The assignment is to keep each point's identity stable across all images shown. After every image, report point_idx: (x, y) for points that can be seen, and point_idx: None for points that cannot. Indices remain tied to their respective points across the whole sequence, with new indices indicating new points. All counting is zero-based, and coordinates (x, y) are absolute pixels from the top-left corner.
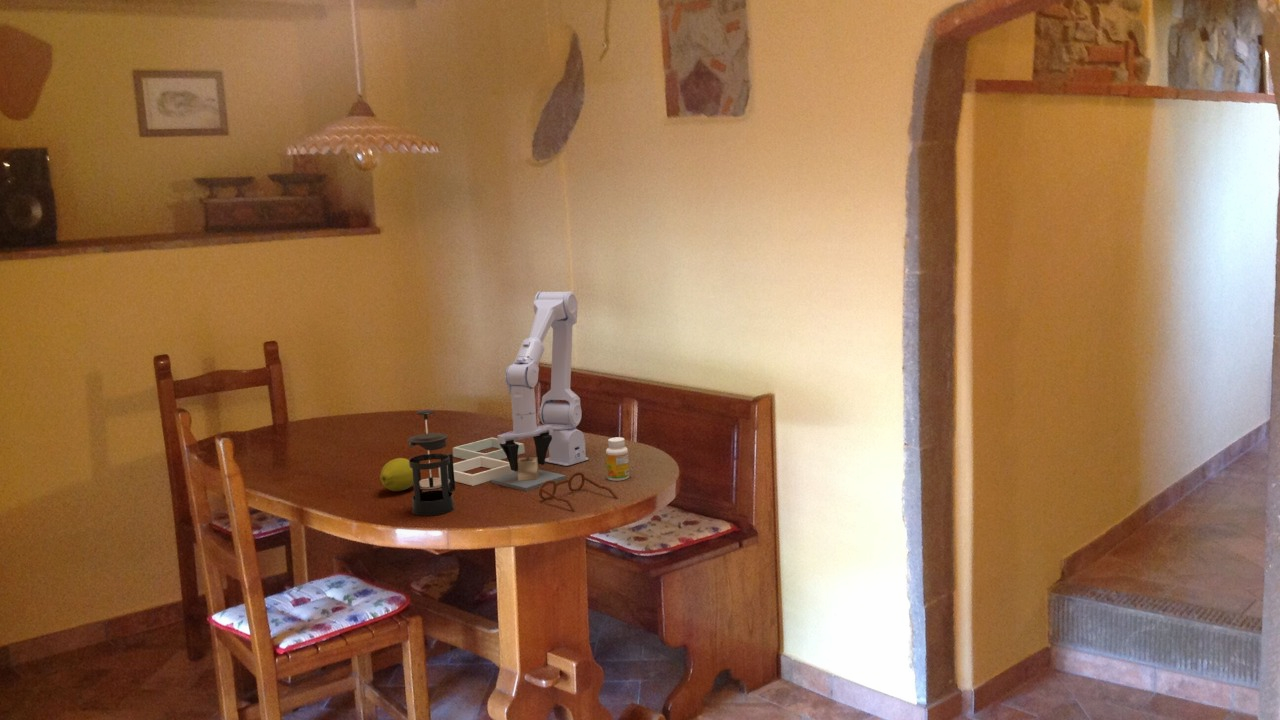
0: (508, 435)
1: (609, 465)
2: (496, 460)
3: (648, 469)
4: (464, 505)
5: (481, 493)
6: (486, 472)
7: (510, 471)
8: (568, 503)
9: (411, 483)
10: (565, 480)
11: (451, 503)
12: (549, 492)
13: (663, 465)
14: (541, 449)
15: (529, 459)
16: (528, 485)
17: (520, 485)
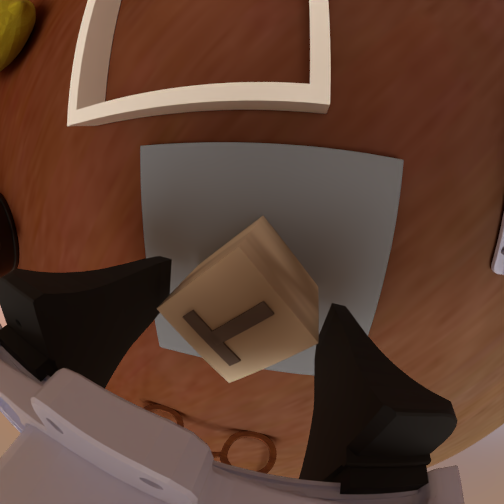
0: (3, 413)
1: None
2: None
3: (463, 436)
4: (31, 267)
5: (73, 228)
6: (127, 112)
7: (289, 108)
8: None
9: (8, 61)
10: None
11: (5, 273)
12: None
13: (488, 432)
14: (321, 404)
15: (243, 336)
16: (180, 341)
17: (163, 317)
